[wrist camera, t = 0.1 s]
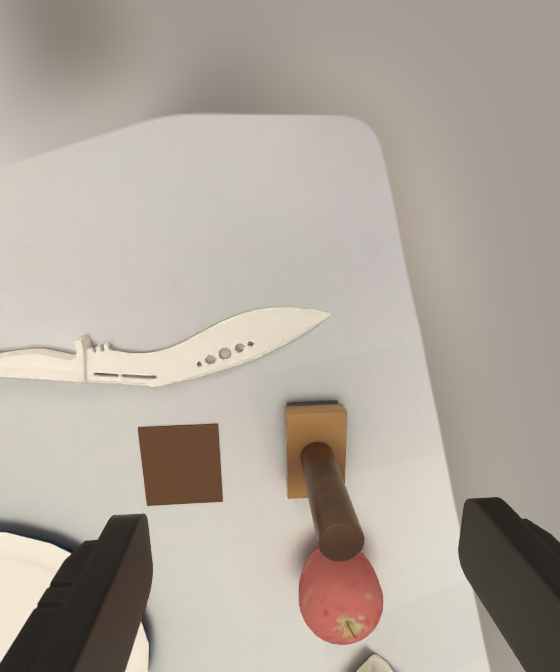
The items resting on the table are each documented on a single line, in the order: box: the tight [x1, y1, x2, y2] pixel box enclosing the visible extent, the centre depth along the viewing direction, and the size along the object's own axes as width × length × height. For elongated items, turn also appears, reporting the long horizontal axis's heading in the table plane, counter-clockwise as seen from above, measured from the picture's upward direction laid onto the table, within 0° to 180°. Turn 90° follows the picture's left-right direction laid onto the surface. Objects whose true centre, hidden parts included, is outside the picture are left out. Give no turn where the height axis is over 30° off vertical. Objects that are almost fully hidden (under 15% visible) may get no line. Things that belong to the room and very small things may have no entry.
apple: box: [299, 547, 383, 645], centre depth 32 cm, size 7×7×8 cm
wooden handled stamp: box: [285, 401, 364, 562], centre depth 27 cm, size 8×5×12 cm, turn 1°
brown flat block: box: [138, 424, 223, 506], centre depth 33 cm, size 8×7×1 cm
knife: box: [0, 307, 332, 387], centre depth 29 cm, size 30×2×8 cm
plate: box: [0, 531, 149, 672], centre depth 35 cm, size 29×29×2 cm
